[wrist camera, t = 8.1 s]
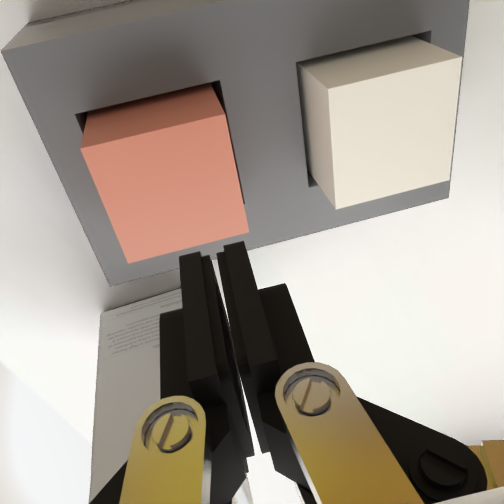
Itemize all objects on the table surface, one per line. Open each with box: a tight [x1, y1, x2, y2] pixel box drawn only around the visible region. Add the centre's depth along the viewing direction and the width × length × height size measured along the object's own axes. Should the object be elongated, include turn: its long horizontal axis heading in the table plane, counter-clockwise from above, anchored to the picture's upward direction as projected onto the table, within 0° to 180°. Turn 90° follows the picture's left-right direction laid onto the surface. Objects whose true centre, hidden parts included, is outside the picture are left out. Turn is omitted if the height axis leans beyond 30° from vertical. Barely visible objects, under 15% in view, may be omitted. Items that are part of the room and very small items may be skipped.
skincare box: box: [89, 288, 253, 504], centre depth 24 cm, size 6×4×12 cm
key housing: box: [1, 0, 469, 287], centre depth 20 cm, size 16×10×5 cm, turn 99°
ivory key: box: [296, 35, 462, 209], centre depth 18 cm, size 5×5×4 cm
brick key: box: [80, 82, 249, 264], centre depth 18 cm, size 5×5×4 cm
